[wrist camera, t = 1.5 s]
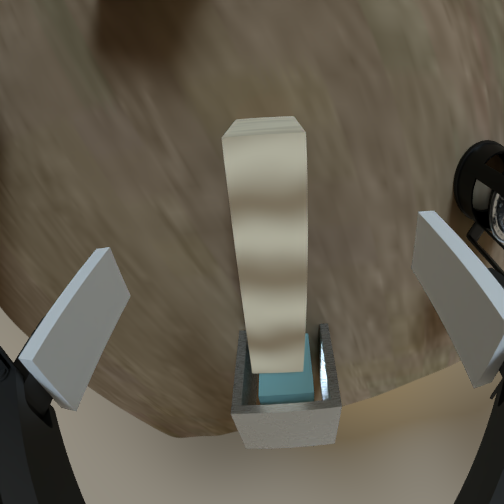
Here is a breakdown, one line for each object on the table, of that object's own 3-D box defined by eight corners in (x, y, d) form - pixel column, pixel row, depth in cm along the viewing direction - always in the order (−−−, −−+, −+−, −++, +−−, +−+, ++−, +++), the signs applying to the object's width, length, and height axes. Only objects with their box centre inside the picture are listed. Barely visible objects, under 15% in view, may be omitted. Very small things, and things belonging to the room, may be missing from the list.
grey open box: (325, 370, 42) (334, 443, 32) (250, 376, 43) (246, 448, 33) (327, 323, 37) (341, 406, 27) (239, 330, 38) (230, 413, 28)
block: (265, 365, 42) (264, 420, 34) (260, 337, 39) (258, 396, 31) (308, 362, 41) (313, 416, 33) (307, 333, 38) (314, 392, 30)
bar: (297, 311, 36) (303, 371, 29) (255, 312, 37) (252, 373, 29) (293, 115, 25) (305, 132, 17) (235, 119, 25) (221, 137, 18)
